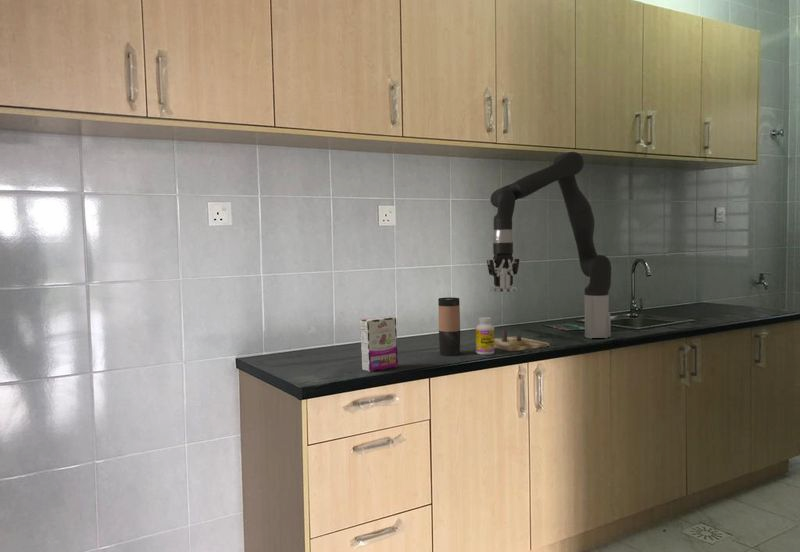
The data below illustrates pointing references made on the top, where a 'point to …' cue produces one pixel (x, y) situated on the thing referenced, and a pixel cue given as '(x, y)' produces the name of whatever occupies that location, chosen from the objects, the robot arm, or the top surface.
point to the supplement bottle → (484, 336)
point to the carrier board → (514, 348)
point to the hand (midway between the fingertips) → (503, 285)
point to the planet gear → (504, 284)
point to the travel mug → (449, 326)
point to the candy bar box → (379, 343)
